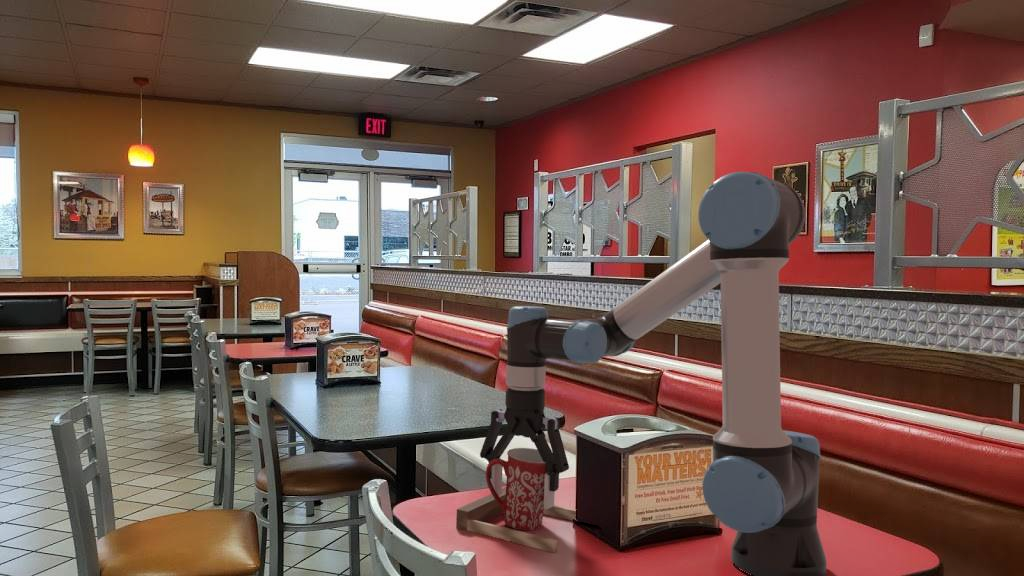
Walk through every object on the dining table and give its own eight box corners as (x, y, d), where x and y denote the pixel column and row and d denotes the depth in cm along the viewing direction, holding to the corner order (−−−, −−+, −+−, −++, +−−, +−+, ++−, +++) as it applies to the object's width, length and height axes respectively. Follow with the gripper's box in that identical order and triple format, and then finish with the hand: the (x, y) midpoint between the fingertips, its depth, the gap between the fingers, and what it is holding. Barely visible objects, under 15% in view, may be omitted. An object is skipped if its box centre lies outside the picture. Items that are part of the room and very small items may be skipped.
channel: (597, 525, 143) (598, 507, 143) (554, 553, 129) (555, 533, 128) (505, 503, 154) (505, 487, 154) (456, 527, 140) (456, 509, 139)
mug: (547, 517, 147) (554, 450, 146) (545, 535, 138) (553, 464, 137) (483, 509, 148) (490, 442, 147) (478, 526, 138) (485, 456, 137)
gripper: (589, 391, 139) (586, 508, 139) (485, 378, 151) (482, 485, 151) (571, 396, 132) (567, 519, 133) (463, 382, 144) (460, 494, 145)
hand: (522, 501), depth 142 cm, fingers open, 11 cm apart
